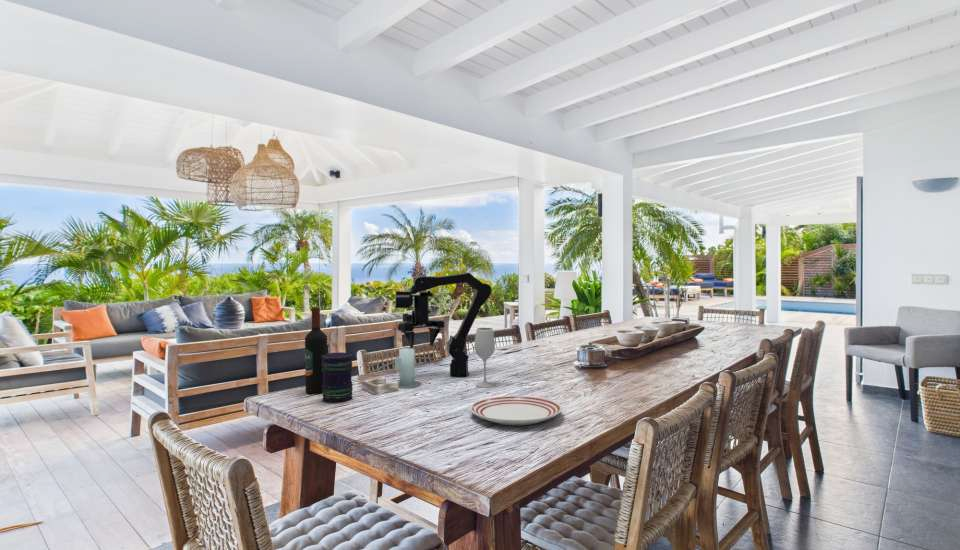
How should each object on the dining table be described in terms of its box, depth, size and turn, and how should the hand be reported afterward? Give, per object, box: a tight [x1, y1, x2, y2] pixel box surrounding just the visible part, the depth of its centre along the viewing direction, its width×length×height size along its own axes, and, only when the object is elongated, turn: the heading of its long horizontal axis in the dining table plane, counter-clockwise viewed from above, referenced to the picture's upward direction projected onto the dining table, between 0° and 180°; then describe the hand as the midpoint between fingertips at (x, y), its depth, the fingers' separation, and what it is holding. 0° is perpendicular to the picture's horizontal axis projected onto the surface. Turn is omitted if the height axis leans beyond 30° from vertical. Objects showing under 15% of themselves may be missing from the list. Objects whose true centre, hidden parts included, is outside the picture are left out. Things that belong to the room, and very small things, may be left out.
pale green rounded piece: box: [394, 347, 416, 386], centre depth 191 cm, size 8×6×13 cm
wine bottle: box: [304, 306, 329, 395], centre depth 182 cm, size 8×8×30 cm
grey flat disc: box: [397, 380, 422, 389], centre depth 191 cm, size 11×11×1 cm
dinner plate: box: [469, 395, 563, 426], centre depth 153 cm, size 28×27×3 cm
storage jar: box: [322, 352, 354, 404], centre depth 172 cm, size 10×10×15 cm
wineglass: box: [474, 327, 496, 388], centre depth 190 cm, size 8×8×21 cm
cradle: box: [361, 377, 399, 395], centre depth 184 cm, size 9×10×3 cm
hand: (421, 347), depth 204 cm, fingers open, 9 cm apart
